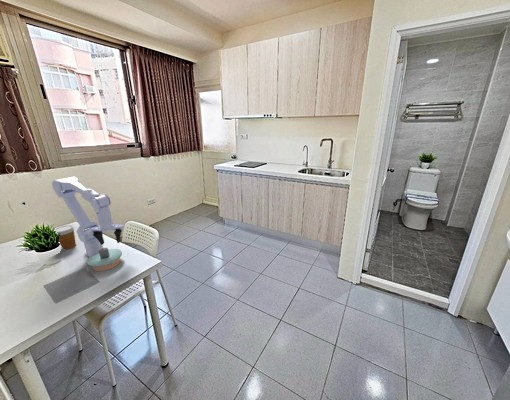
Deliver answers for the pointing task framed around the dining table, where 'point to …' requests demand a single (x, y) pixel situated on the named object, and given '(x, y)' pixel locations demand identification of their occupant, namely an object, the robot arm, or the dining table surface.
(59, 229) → the disposable coffee cup
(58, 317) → the dining table surface
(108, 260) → the lid
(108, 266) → the bowl
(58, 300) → the mat
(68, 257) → the dining table surface
